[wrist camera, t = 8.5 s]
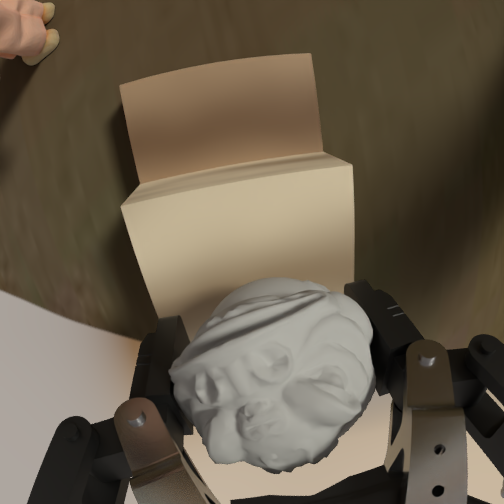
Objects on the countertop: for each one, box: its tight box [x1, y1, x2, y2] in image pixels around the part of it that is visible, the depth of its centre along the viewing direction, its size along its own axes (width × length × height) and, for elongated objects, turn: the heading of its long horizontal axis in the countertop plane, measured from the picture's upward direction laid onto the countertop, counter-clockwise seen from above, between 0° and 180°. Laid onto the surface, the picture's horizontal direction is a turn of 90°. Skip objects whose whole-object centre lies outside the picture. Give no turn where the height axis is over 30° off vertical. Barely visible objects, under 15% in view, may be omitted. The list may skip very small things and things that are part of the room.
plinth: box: [120, 53, 354, 343], centre depth 15 cm, size 14×9×6 cm, turn 8°
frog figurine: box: [169, 277, 376, 474], centre depth 9 cm, size 6×7×7 cm
